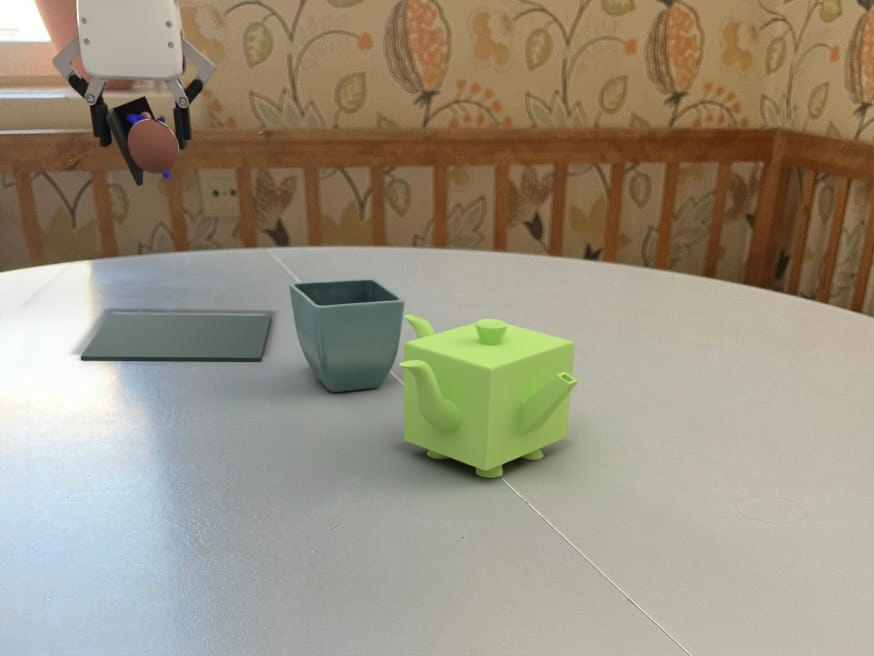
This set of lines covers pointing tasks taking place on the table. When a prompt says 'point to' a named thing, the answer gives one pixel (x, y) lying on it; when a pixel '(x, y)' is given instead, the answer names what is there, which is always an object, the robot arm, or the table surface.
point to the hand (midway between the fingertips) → (144, 145)
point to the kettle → (486, 392)
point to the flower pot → (348, 330)
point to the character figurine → (143, 139)
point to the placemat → (180, 338)
